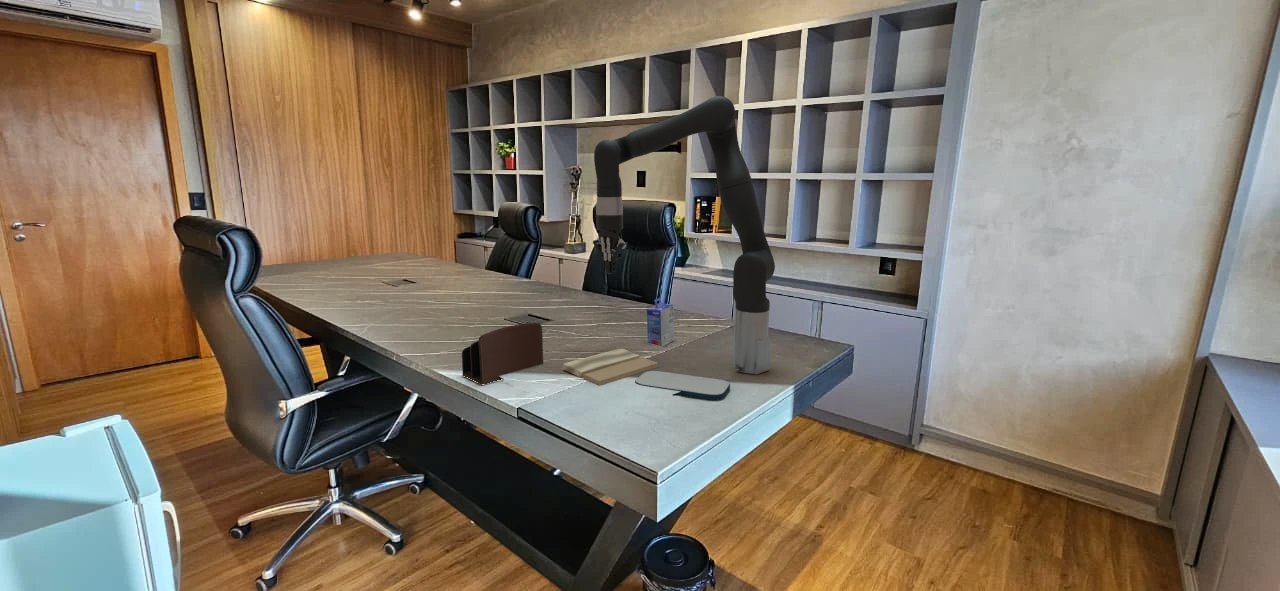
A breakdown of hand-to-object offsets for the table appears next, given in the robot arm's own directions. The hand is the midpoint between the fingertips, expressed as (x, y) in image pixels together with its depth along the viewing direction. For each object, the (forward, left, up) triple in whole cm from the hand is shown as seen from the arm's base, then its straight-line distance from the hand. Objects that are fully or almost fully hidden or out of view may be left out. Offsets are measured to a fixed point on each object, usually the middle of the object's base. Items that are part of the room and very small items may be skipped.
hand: (610, 273), depth 167 cm
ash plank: (-7, +9, -24) cm, 27 cm away
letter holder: (+10, +30, -26) cm, 41 cm away
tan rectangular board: (-10, +9, -25) cm, 29 cm away
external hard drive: (-31, +3, -26) cm, 41 cm away
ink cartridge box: (+1, -22, -26) cm, 34 cm away
